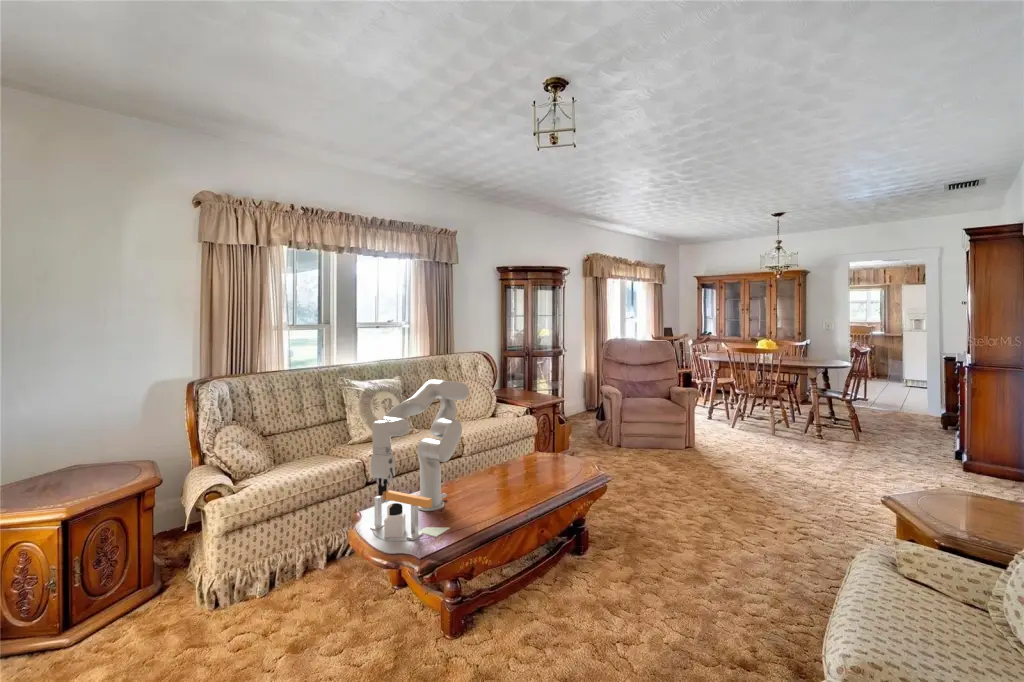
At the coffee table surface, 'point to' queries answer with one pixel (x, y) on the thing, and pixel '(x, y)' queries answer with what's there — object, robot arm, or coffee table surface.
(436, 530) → the coaster
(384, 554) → the coffee table surface
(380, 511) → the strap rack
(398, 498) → the bar
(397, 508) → the medicine bottle
